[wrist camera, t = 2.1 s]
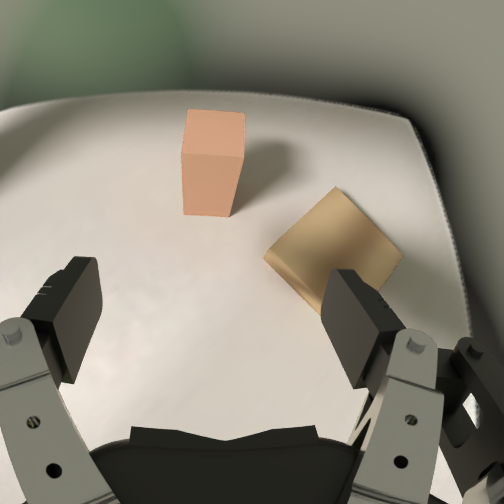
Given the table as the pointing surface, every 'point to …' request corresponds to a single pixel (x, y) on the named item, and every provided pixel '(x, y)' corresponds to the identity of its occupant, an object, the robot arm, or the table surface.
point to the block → (211, 161)
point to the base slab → (332, 249)
